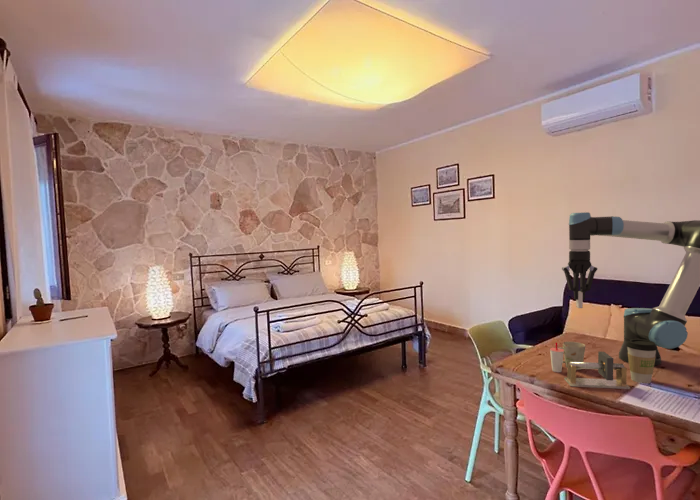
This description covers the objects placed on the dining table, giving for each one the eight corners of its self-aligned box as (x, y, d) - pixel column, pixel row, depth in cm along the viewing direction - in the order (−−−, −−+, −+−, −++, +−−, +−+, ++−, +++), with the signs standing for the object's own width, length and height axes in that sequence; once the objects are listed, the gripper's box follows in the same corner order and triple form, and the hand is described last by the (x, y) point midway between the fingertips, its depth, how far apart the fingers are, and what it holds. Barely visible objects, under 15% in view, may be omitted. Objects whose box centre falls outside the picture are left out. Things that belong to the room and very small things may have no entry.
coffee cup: (658, 387, 148) (659, 347, 148) (626, 382, 154) (626, 343, 153) (655, 378, 157) (656, 340, 156) (624, 374, 162) (625, 337, 161)
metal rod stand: (621, 381, 154) (621, 360, 154) (630, 389, 147) (630, 366, 147) (564, 379, 158) (564, 358, 158) (570, 386, 151) (570, 364, 151)
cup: (550, 372, 166) (550, 343, 165) (548, 368, 171) (548, 340, 170) (565, 373, 164) (565, 344, 163) (563, 369, 169) (563, 341, 168)
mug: (588, 371, 166) (588, 347, 165) (555, 370, 168) (555, 346, 168) (581, 364, 174) (581, 341, 173) (549, 363, 176) (549, 340, 176)
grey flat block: (603, 372, 156) (604, 351, 155) (613, 380, 148) (613, 358, 147) (598, 372, 156) (598, 351, 156) (607, 380, 148) (607, 358, 148)
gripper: (593, 249, 167) (592, 305, 168) (559, 250, 169) (559, 305, 171) (600, 250, 160) (600, 309, 161) (565, 251, 162) (565, 309, 163)
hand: (579, 307), depth 166 cm, fingers closed
